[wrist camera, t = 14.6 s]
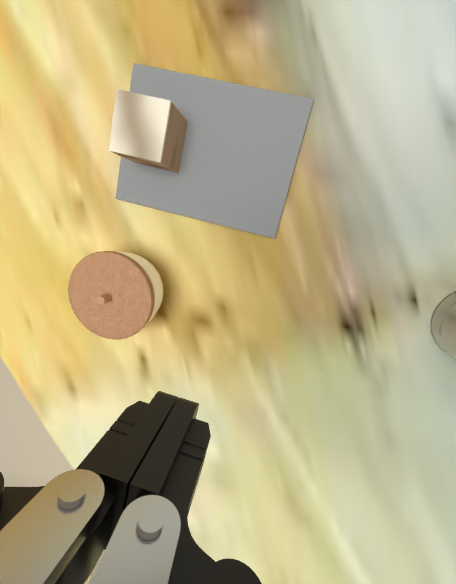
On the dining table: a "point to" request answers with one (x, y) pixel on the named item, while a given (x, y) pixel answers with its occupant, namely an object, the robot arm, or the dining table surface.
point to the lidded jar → (115, 293)
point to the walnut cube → (147, 130)
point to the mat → (221, 151)
